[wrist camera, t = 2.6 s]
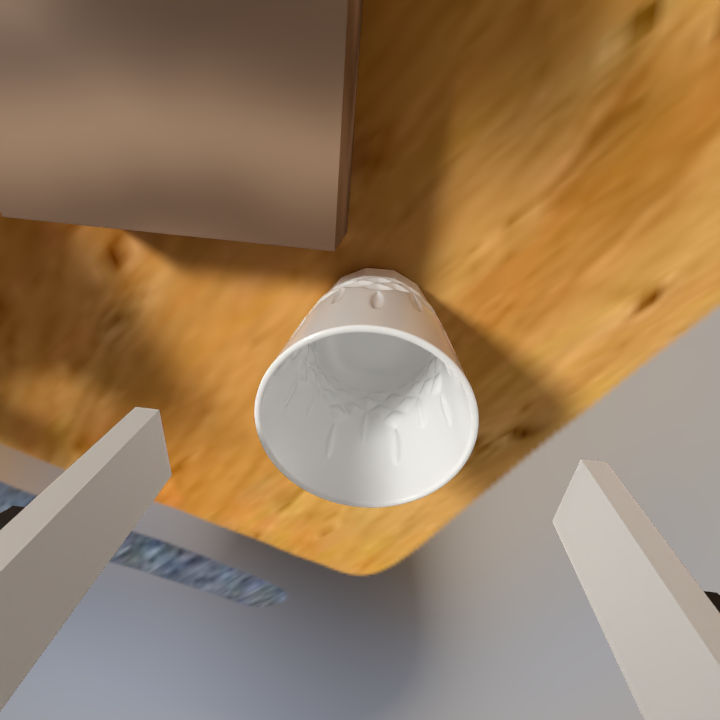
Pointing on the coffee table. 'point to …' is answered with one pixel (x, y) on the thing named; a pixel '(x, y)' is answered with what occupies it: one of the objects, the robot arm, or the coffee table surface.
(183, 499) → the coffee table surface
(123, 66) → the walnut block
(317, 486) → the white cup
